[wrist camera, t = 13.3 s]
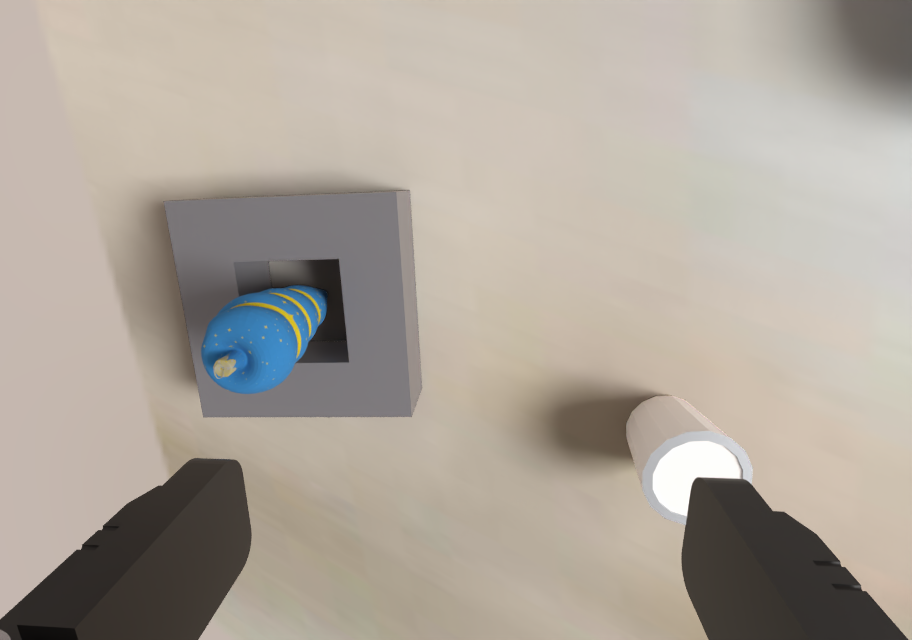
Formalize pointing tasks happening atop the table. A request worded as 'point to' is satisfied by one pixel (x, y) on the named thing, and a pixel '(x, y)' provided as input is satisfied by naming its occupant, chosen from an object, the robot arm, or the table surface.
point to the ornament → (261, 337)
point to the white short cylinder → (679, 453)
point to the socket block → (363, 288)
